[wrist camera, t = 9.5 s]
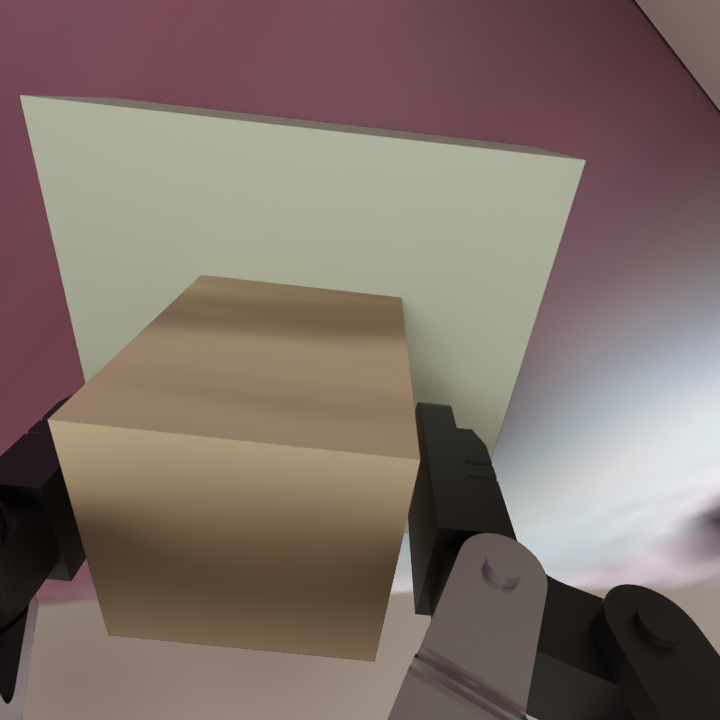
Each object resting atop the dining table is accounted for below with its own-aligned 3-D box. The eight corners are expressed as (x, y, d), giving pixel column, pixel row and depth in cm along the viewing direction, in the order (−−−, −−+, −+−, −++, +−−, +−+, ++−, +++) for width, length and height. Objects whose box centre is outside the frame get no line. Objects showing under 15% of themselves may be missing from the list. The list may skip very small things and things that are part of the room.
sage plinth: (115, 98, 13) (19, 95, 9) (530, 145, 13) (585, 160, 10) (162, 431, 19) (113, 505, 15) (449, 459, 19) (465, 538, 16)
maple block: (201, 274, 11) (48, 419, 6) (401, 297, 11) (420, 459, 6) (211, 433, 14) (108, 634, 8) (376, 451, 14) (374, 661, 9)
